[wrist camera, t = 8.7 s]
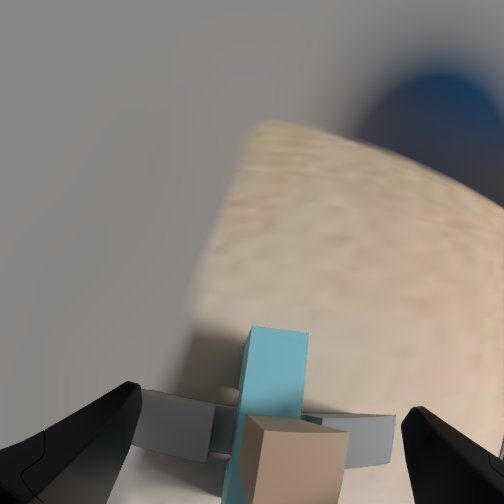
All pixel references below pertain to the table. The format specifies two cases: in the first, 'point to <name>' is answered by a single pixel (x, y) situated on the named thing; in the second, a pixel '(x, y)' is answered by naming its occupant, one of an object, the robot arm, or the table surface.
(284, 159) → the table surface
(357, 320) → the table surface
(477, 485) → the robot arm
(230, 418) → the slotted bar
